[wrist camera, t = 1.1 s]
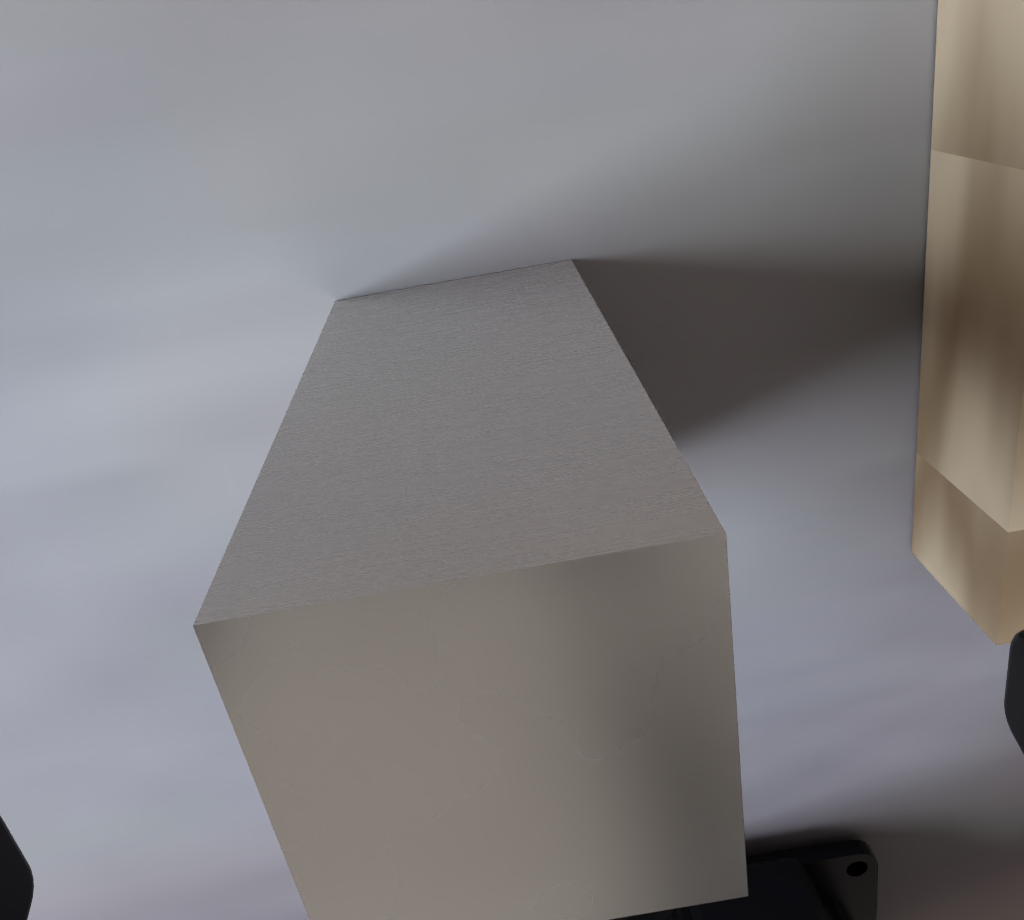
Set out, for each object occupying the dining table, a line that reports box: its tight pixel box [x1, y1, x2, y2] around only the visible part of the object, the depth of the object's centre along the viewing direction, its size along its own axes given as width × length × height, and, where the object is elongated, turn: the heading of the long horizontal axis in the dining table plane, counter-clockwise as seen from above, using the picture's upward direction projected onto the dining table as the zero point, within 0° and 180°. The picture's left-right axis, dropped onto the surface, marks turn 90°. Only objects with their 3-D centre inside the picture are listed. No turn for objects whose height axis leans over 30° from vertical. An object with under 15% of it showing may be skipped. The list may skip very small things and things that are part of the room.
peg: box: [193, 260, 748, 920], centre depth 11 cm, size 4×4×9 cm
